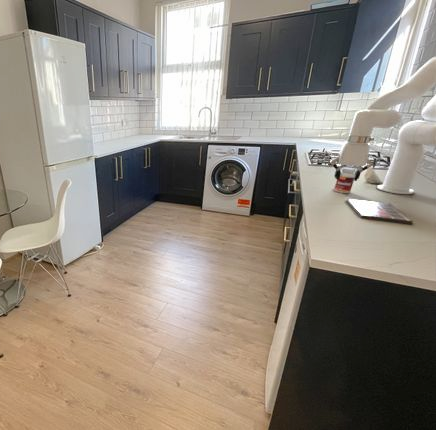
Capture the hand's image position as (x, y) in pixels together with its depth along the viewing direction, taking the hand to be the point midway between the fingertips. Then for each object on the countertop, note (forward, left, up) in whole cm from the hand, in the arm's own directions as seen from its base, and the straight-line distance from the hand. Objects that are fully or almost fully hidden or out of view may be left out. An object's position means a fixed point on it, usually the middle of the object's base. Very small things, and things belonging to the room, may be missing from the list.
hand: (345, 179), depth 130 cm
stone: (-26, +19, -6) cm, 33 cm away
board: (+27, +5, -6) cm, 28 cm away
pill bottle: (0, 0, -6) cm, 6 cm away
